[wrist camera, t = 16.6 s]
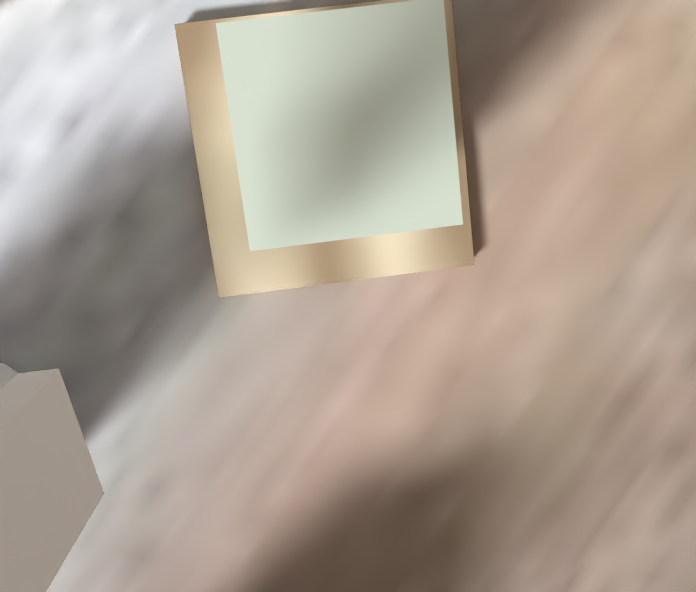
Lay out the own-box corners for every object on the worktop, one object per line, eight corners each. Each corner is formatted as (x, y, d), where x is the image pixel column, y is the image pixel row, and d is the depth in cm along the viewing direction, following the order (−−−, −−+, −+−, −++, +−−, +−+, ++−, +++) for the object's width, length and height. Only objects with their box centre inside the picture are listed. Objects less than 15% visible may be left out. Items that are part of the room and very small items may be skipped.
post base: (446, -2, 28) (497, -72, 20) (469, 262, 31) (523, 289, 23) (179, 29, 28) (126, -31, 20) (221, 293, 30) (189, 333, 22)
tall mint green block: (388, 75, 28) (443, -3, 16) (402, 207, 29) (463, 224, 17) (257, 91, 28) (215, 23, 16) (276, 223, 29) (249, 251, 17)
